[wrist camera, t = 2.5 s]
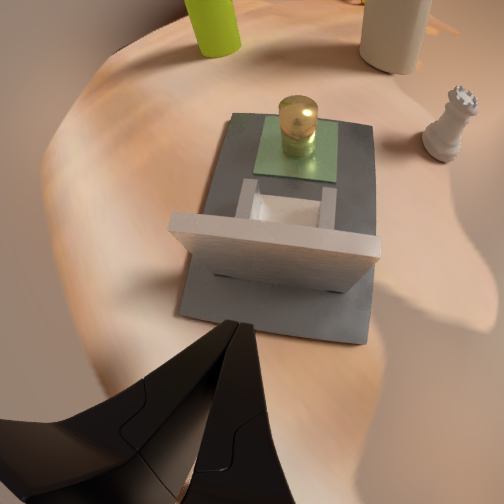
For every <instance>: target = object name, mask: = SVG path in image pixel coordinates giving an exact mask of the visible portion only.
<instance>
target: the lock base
mask: <svg viewBox="0 0 504 504" xmlns="http://www.w3.org/2000/svg"><path fill="white" fill-rule="evenodd" d="M317 116H318V106H317V104H316V103H315V101H313V100H312V99H310V98H308V97H306V96H300V95H295V96H289V97H287V98H285V99H283V100H282V101H281V102H280V104H279V115H275V114H255V113H233V114H232V117H231V120H230V123H229V126H228V129H227V133H226V136H225V139H224V142H223V145H222V149H221V152H220V155H219V159H218V162H217V165H216V169H215V172H214V176H213V179H212V182H211V186H210V190H209V193H208V197H207V200H206V204H205V208H204V211H203V214H204V215H214V216H224V217H233V218H235V215H236V210H237V206H238V202H239V197H240V193H241V189H242V184H243V180H244V179H256V180H258V184H259V189H260V194H261V198H262V201H261V206H260V212H259V217H258V220H260V221H268V222H277V223H285V224H293V225H301V226H309V227H316V228H317V226H318V216H319V206H320V200H321V194H322V188H323V187H329V188H336V189H337V195H336V211H335V224H334V230H338V231H345V232H353V233H359V234H366V235H373V236H376V175H375V154H374V140H373V128H372V126H369V125H363V124H357V123H350V122H344V121H336V120H329V119H320V118H317ZM374 265H375V264H374ZM374 265H373V266H372V267H371V268H370V269H369V271H368V272H367V273H366V274H365V275H364V276H363V277H362V278H361V279H360V280H359V281H358V282H357V283H356V284H355V285H354V286H353V287H352V288H351V289H350V290H349V291H348V292H347V293H343V292H336V291H328V290H321V289H313V288H306V287H299V286H292V285H284V284H278V283H271V282H264V281H257V280H251V279H244V278H238V277H231V276H225V275H218V274H212V273H210V272H209V271H208V270H207V269H206V268H205V267H204V266H203V265H202V264H201V263H200V262H199V261H198V260H197V259H196V258H195V257H194V256H193V255H192V258H191V262H190V266H189V270H188V275H187V279H186V283H185V288H184V292H183V297H182V301H181V306H180V310H179V315H182V316H186V317H191V318H196V319H200V320H205V321H210V322H215V323H222V322H223V321H224V320H227V319H229V320H234V321H238V322H239V323H240V322H245V323H251V324H253V325H254V330H258V331H264V332H270V333H276V334H283V335H289V336H296V337H303V338H310V339H318V340H326V341H334V342H343V343H352V344H362V345H365V344H367V337H368V330H369V322H370V313H371V303H372V292H373V280H374Z"/></svg>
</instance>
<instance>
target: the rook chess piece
mask: <svg viewBox="0 0 504 504" xmlns="http://www.w3.org/2000/svg"><path fill="white" fill-rule="evenodd" d="M464 90H465V88H464V87H462V86H460V88H459V87H458V86H456V87H455V89H454V90H451V91H449V92H448V97H449V100H450V102H449V103H447V104H446V105H445V112H444V113H443V115H442V116H441V117H440V119H439V120H438V121H435V122H434V123H431V124H430V125H429V126H427V127H426V130H425V131H424V132H423V135H422V140H423V144H424V147H425V148H426V150H427V151H428V153H429V154H430V155H431V156H433V157H434V158H436V159H437V160H439V161H443V162H450V161H454V160H455V159H456V157H457V154H458V153H459V152H460V148H461V134H462V132H463V129H464V127H465V125H466V124H468V123H469V122H470V116H474V115H476V114H477V113H478V109H477V105H478V103H477V102H478V99H477V98H476V97H474V98H472V95H473V93H472V92H471V91H470V90H469V91H468V93H466V92H464Z"/></svg>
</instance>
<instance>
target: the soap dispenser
mask: <svg viewBox="0 0 504 504" xmlns="http://www.w3.org/2000/svg"><path fill="white" fill-rule="evenodd" d="M184 1H185V5H186V8H187V11H188V14H189V17H190V20H191V23H192V26H193V29H194V32H195V35H196V38H197V42H198V45H199V48H200V51H201V54H202V55H203V56H205V57H211V58H216V57H223V56H226V55H229V54H232V53H234V52H235V51H237V50H238V49H239V48H240V47H241V40H240V35H239V30H238V26H237V21H236V16H235V11H234V7H233V2H232V0H184Z"/></svg>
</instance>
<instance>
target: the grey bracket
mask: <svg viewBox="0 0 504 504" xmlns="http://www.w3.org/2000/svg"><path fill="white" fill-rule="evenodd" d="M336 195H337V189H336V188H329V187H323V188H322V194H321V200H320V206H319V216H318V226H317V228H316V227H309V226H301V225H293V224H285V223H277V222H268V221H260V220H258V217H259V212H260V206H261V201H262V198H261V194H260V189H259V184H258V180H256V179H244V180H243V184H242V189H241V193H240V197H239V202H238V206H237V210H236V215H235V218H233V217H224V216H214V215H204V214H194V213H183V212H172V216H171V219H170V222H169V226H168V229H167V230H168V231H169V232H170V233H171V234H172V235H173V236H174V237H175V238H176V239H177V240H178V241H179V242H180V243H181V244H182V245H183V246H184V247H185V248H186V249H187V250H188V251H189V252H190V253H191V254H192V255H193V256H194V257H195V258H196V259H197V260H198V261H199V262H200V263H201V264H202V265H203V266H204V267H205V268H206V269H207V270H208V271H209V272H210V273H212V274H218V275H225V276H231V277H238V278H244V279H251V280H257V281H264V282H271V283H278V284H284V285H292V286H299V287H306V288H313V289H321V290H328V291H336V292H343V293H347V292H348V291H349V290H350V289H351V288H352V287H353V286H354V285H355V284H356V283H357V282H358V281H359V280H360V279H361V278H362V277H363V276H364V275H365V274H366V273H367V272H368V271H369V269H370V268H371V267H372V266H373V265H374V264H375V263H376V262H377V261H378V260H379V259H380V257H381V237H380V236H373V235H366V234H359V233H353V232H345V231H338V230H334V224H335V211H336Z"/></svg>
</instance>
